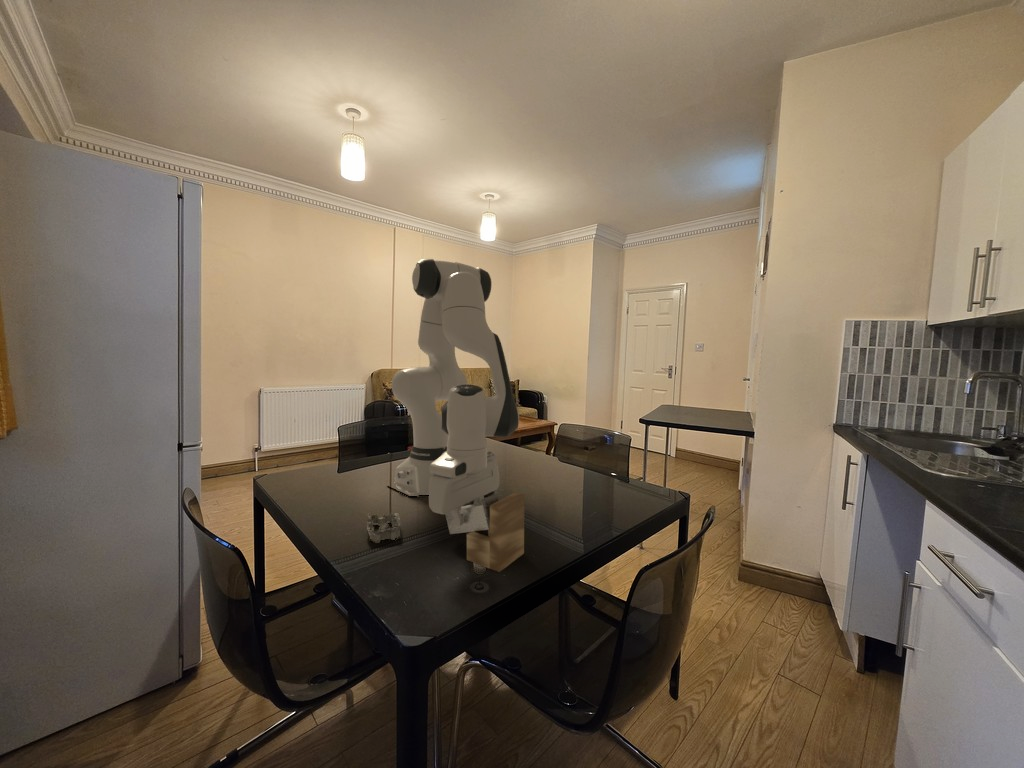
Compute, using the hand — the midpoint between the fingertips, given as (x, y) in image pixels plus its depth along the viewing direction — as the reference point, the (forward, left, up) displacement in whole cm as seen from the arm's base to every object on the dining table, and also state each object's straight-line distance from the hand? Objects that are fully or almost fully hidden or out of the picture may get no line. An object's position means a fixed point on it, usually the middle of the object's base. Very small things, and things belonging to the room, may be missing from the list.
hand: (467, 520), depth 89 cm
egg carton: (-21, -6, -7) cm, 23 cm away
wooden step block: (+8, 0, -6) cm, 10 cm away
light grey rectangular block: (+3, 0, -1) cm, 3 cm away
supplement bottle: (-5, +12, -6) cm, 14 cm away
